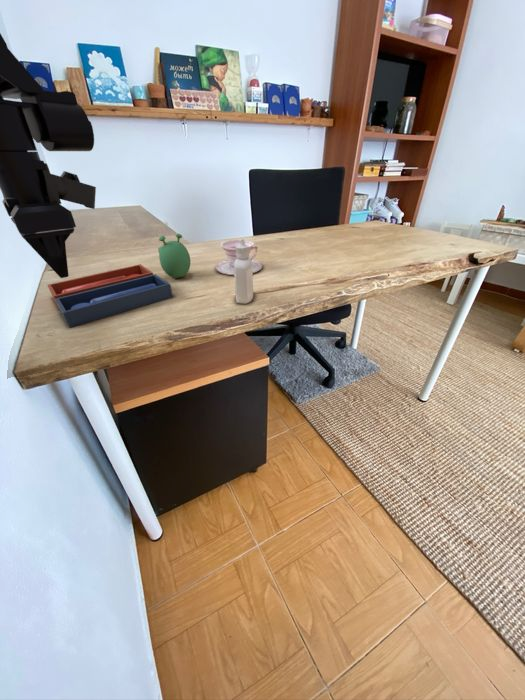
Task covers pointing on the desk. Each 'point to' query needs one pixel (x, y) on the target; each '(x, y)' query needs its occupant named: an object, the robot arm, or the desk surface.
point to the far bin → (60, 286)
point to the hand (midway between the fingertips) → (58, 269)
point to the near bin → (115, 304)
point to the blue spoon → (115, 295)
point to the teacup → (230, 249)
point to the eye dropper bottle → (243, 274)
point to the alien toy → (174, 257)
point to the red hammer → (97, 283)
